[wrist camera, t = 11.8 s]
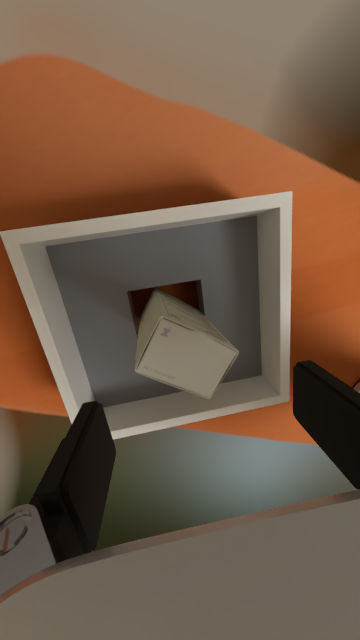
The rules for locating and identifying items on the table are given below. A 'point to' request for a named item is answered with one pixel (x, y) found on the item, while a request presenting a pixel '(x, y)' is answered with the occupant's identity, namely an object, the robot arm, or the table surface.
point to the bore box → (152, 271)
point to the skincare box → (181, 346)
